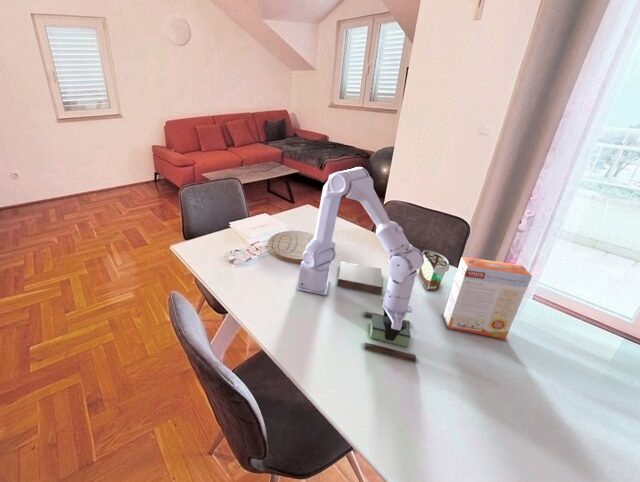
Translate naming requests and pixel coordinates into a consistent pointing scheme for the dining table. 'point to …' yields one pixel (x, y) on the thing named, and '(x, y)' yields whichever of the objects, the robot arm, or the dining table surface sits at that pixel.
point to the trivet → (289, 245)
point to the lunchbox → (379, 332)
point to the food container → (433, 269)
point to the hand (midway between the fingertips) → (388, 332)
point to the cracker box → (486, 296)
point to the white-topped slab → (360, 277)
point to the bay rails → (388, 350)
